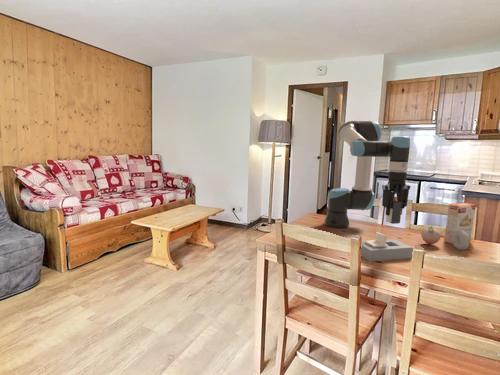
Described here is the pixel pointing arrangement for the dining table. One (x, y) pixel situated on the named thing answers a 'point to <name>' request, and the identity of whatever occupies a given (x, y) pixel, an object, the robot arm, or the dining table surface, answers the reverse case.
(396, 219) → the plug
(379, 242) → the cream l-shaped bracket
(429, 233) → the decorative fruit
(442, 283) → the dining table surface
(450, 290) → the dining table surface
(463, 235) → the donut
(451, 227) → the cracker box
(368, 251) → the socket housing
